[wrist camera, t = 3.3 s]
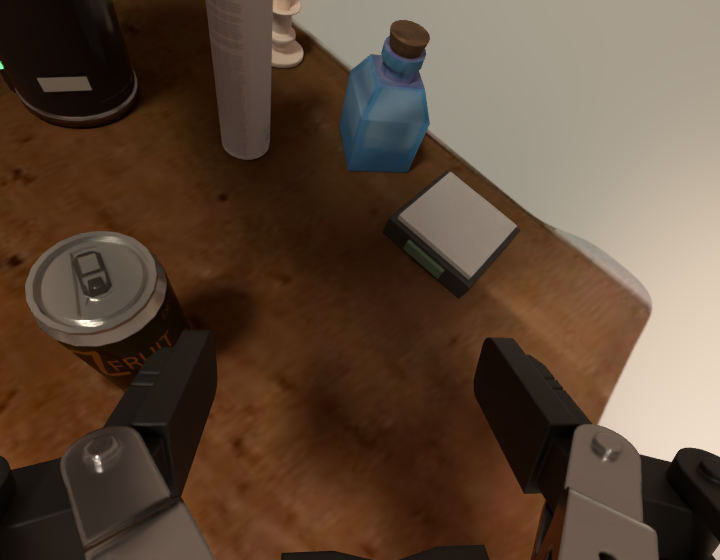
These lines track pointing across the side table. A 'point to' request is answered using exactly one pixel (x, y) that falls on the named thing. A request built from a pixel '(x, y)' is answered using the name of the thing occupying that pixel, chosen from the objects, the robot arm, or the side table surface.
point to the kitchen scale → (451, 232)
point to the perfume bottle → (387, 104)
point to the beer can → (105, 302)
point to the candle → (285, 35)
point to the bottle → (242, 73)
